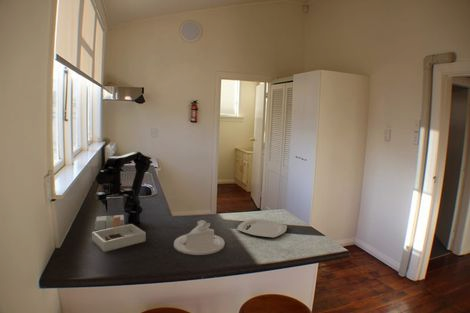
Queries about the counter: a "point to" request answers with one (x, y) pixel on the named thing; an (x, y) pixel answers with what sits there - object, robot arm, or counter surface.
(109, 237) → the socket
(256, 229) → the plate
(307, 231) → the counter surface
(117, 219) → the peg
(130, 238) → the tray
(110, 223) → the syrup box
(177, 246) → the dish
